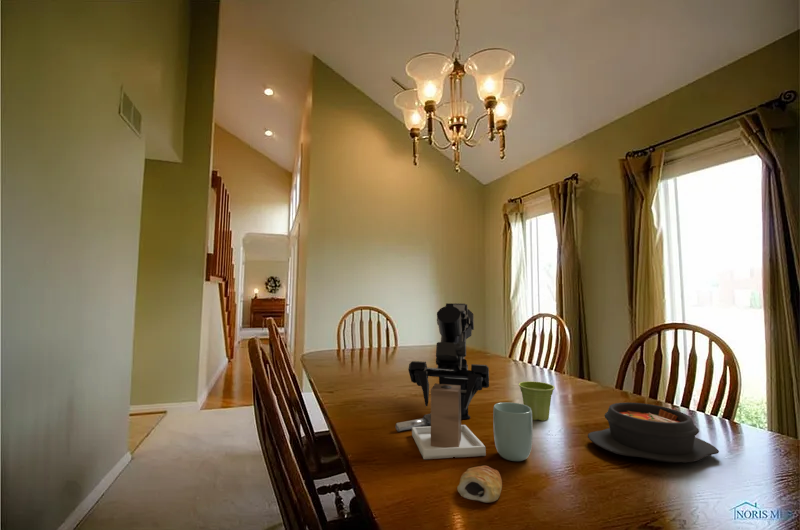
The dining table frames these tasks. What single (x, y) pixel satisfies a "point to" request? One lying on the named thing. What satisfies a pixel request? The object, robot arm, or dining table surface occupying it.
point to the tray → (466, 448)
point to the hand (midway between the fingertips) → (445, 407)
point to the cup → (513, 430)
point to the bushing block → (445, 415)
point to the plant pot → (537, 398)
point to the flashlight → (414, 423)
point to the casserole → (651, 434)
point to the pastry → (480, 484)
